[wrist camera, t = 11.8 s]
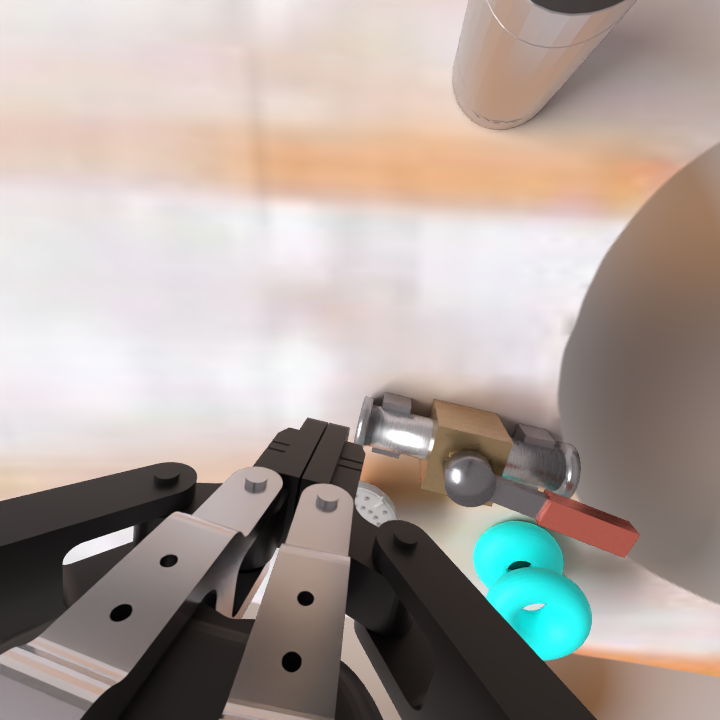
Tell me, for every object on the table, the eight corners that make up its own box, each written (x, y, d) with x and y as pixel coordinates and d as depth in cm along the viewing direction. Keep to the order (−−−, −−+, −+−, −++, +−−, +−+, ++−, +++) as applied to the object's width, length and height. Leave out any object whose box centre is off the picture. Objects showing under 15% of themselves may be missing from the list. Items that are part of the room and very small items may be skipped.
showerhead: (420, 527, 39) (359, 584, 41) (418, 486, 46) (367, 538, 48) (347, 471, 38) (290, 533, 41) (357, 438, 45) (308, 493, 48)
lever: (435, 482, 36) (437, 496, 34) (454, 443, 35) (457, 455, 33) (607, 549, 36) (620, 567, 34) (632, 512, 35) (647, 528, 33)
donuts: (478, 590, 36) (590, 579, 35) (464, 521, 46) (551, 509, 44) (496, 671, 39) (603, 664, 37) (479, 589, 48) (563, 580, 46)
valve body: (368, 384, 43) (360, 409, 36) (565, 429, 42) (598, 466, 34) (356, 439, 45) (346, 473, 38) (544, 484, 43) (571, 530, 36)
